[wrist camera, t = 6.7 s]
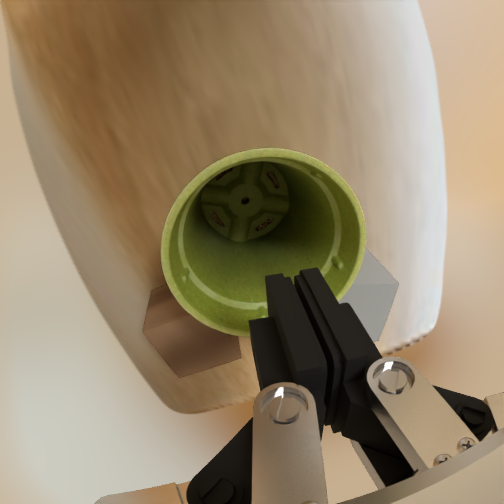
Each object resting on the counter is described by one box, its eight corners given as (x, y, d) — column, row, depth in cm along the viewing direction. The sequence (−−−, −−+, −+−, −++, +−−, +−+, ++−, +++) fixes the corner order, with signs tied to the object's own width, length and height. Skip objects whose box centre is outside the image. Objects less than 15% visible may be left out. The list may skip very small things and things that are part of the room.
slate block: (302, 242, 24) (329, 286, 19) (362, 243, 25) (399, 283, 20) (293, 298, 26) (314, 347, 21) (349, 295, 27) (378, 341, 22)
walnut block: (151, 290, 24) (142, 332, 20) (209, 266, 24) (211, 306, 20) (180, 334, 27) (178, 378, 22) (234, 314, 26) (241, 357, 22)
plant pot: (260, 100, 19) (296, 102, 11) (335, 207, 23) (394, 265, 15) (148, 189, 21) (116, 246, 13) (234, 281, 25) (248, 364, 17)
